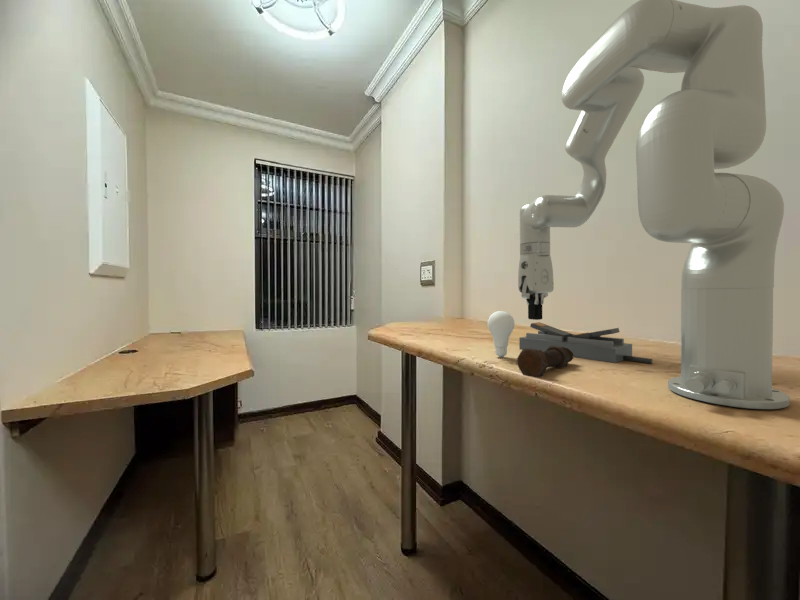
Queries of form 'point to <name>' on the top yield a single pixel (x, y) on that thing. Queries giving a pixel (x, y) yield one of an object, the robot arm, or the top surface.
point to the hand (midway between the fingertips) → (535, 319)
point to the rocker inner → (596, 333)
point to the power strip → (584, 347)
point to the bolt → (543, 360)
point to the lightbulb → (501, 330)
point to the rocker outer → (550, 330)
